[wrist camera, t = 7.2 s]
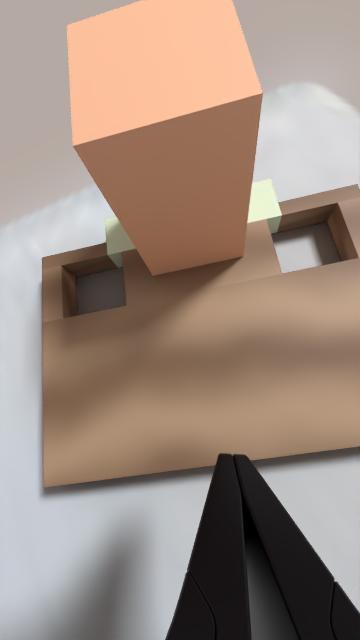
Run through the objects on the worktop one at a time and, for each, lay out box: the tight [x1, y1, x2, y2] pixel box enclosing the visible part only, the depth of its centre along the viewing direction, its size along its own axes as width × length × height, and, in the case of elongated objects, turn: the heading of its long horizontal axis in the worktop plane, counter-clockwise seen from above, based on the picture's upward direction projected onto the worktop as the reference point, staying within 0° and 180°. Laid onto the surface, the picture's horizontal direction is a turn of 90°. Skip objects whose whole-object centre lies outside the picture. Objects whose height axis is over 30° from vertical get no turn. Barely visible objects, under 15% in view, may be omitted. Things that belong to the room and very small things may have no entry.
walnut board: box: [42, 184, 360, 487], centre depth 18 cm, size 15×22×2 cm
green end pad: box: [105, 178, 282, 268], centre depth 20 cm, size 3×12×2 cm, turn 99°
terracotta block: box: [67, 0, 263, 276], centre depth 14 cm, size 6×6×10 cm
